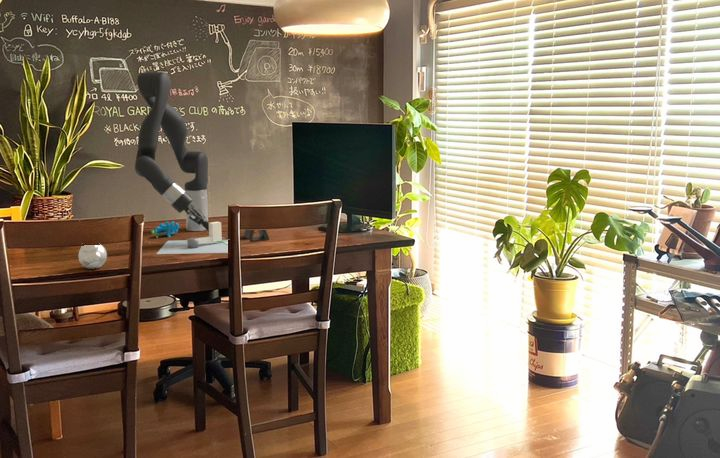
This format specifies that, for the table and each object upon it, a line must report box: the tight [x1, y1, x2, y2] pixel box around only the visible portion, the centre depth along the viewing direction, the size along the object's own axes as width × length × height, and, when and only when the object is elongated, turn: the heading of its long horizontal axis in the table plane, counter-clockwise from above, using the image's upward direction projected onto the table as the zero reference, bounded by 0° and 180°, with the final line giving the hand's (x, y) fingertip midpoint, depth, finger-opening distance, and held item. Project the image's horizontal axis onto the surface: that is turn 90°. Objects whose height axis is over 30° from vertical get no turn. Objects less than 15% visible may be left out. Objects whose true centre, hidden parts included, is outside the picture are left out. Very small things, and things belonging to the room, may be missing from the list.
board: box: [156, 239, 229, 255], centre depth 266 cm, size 25×26×2 cm
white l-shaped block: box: [186, 221, 226, 248], centre depth 267 cm, size 16×4×8 cm, turn 137°
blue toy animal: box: [151, 220, 180, 239], centre depth 284 cm, size 11×6×10 cm
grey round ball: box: [78, 243, 108, 270], centre depth 235 cm, size 9×10×10 cm
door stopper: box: [243, 229, 270, 242], centre depth 283 cm, size 9×6×12 cm, turn 117°
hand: (211, 229), depth 271 cm, fingers closed
